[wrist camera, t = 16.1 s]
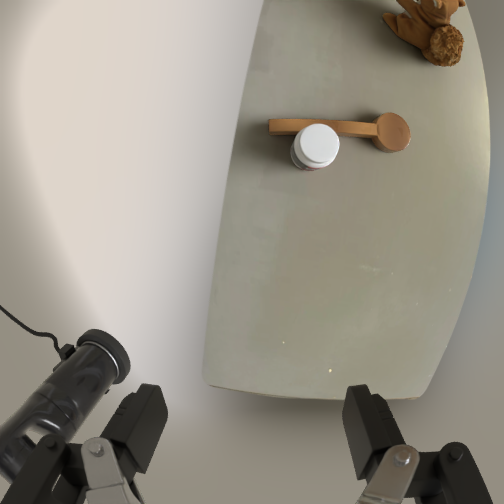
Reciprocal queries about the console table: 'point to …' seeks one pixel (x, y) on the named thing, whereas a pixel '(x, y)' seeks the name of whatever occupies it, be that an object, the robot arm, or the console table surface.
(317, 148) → the pill bottle
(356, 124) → the wooden spoon
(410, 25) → the stuffed squirrel
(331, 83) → the console table surface
